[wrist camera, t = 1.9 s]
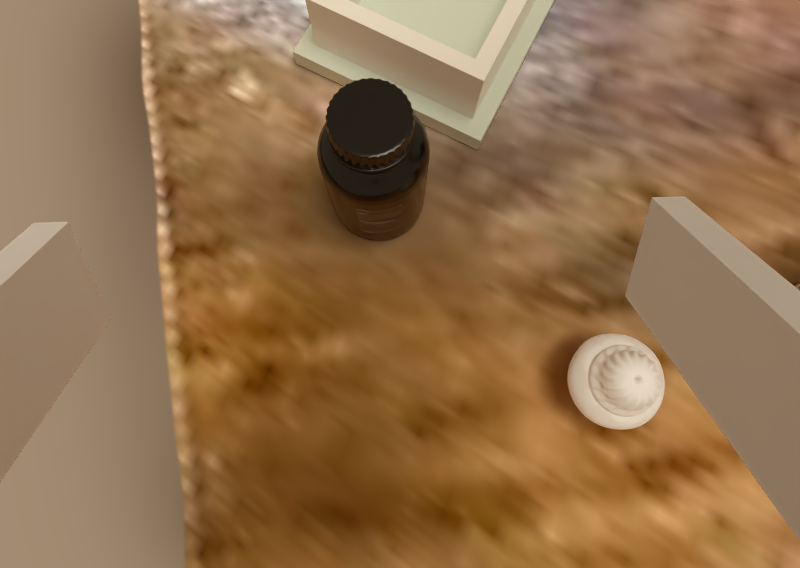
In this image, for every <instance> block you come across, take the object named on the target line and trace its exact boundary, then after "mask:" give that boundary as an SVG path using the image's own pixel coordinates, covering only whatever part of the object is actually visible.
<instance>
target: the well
mask: <svg viewBox="0 0 800 568" xmlns="http://www.w3.org/2000/svg"><path fill="white" fill-rule="evenodd" d="M554 2H555V0H306V5H307V9H308V13H309V18H310V22H311V23H310V25H309V26H308V28H307V30H306V31H305V33H304V35H303V36H302V38H301V39H300V41H299V43H298V44H297V46H296V47H295V49H294V51H293V54H294V57H295V60H296V64H298V65H300V66H303V67H305V68H307V69H309V70H311V71H313V72H315V73H317V74H319V75H321V76H323V77H326V78H328V79H330V80H332V81H334V82H336V83H338V84H340V85H342V86H344V87H345V85H346V84H349V83H352V82H353V81H354V80H360V79H362V78H364V79H368V78H373V79H381V80H383V81H388V82H390V83H391V84H395V85H396V86H397V88H400V89H402V91H403V93H404V94H406V95H407V97H408V100H409V101H410V102H411V105H412V109H413V110H414V114H415V115H416V116H417V117H418V119H419V120H420V121H421V123H422V124H424V125H426V126H428V127H430V128H432V129H434V130H437V131H439V132H441V133H443V134H445V135H447V136H449V137H451V138H453V139H455V140H457V141H460V142H462V143H464V144H466V145H468V146H470V147H472V148H474V149H476V150H478V148H479V146H480V144H481V142H482V141H483V139H484V137H485V135H486V133H487V131H488V129H489V127H490V125H491V123H492V121H493V119H494V117H495V116H496V114H497V112H498V110H499V108H500V106H501V104H502V102H503V100H504V98H505V96H506V94H507V92H508V91H509V89H510V87H511V85H512V83H513V81H514V79H515V77H516V75H517V73H518V71H519V69H520V68H521V66H522V64H523V62H524V60H525V58H526V56H527V54H528V52H529V50H530V48H531V46H532V44H533V43H534V41H535V39H536V37H537V35H538V33H539V31H540V29H541V27H542V25H543V23H544V21H545V19H546V18H547V16H548V14H549V12H550V10H551V8H552V6H553V4H554Z"/></svg>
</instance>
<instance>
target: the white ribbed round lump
mask: <svg viewBox="0 0 800 568" xmlns="http://www.w3.org/2000/svg"><path fill="white" fill-rule="evenodd" d="M567 374H568V377H567V382H568V388H569V389H568V390H569V392H570V395H571V397H572V399H573V401H574V403H575V405H576V406H577V408H578V409H579V411H580V412H581V413H582V414H583V415H584V416H585V417H586V418H588V419H589V420H590V421H592V422H594V423H596V424H598V425H600V426H603V427H606V428H610V429H622V430H624V429H632V428H636V427H639V426H641V425H643V424H645V423H646V422H648V421H649V420H650V419H651V418H652V417H653V416H654V415H655V413H656V412H657V411H658V409H659V407H660V405H661V403H662V400H663V397H664V390H665V381H664V374H663V370H662V367H661V364H660V362H659V360H658V358H657V357H656V355H655V354H654V353H653V352H652V351H651V350H650V349H649V348H648V347H647V346H646V345H645V344H643V343H642V342H640V341H639V340H637V339H635V338H633V337H631V336H628V335H624V334H617V333H607V334H600V335H596V336H594V337H591V338H589V339H588V340H586V341H585V342H584V343H583V344H582V345H581V346H580V347H579V348H578V350H577V351H576V353H575V354H574V356H573V357H572V360H571V362H570V364H569V369H568V372H567Z"/></svg>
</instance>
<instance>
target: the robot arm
mask: <svg viewBox="0 0 800 568" xmlns="http://www.w3.org/2000/svg"><path fill="white" fill-rule="evenodd" d="M625 296H626V298H627V299H628V301H629V302H630V303H631V305H632V306H633V308H634V309H635V310H636V312H637V313H638V315H639V316H640V318H641V319H642V320H643V322H644V323H645V325H646V326H647V327H648V329H649V330H650V332H651V333H652V334H653V336H654V337H655V339H656V340H657V341H658V343H659V344H660V346H661V347H662V348H663V350H664V351H665V353H666V354H667V355H668V357H669V358H670V360H671V361H672V362H673V364H674V365H675V367H676V368H677V369H678V371H679V372H680V374H681V375H682V376H683V378H684V379H685V381H686V382H687V383H688V385H689V386H690V388H691V389H692V391H693V392H694V393H695V395H696V396H697V398H698V399H699V400H700V402H701V403H702V405H703V406H704V407H705V409H706V410H707V412H708V413H709V414H710V416H711V417H712V419H713V420H714V421H715V423H716V424H717V426H718V427H719V428H720V430H721V431H722V433H723V434H724V435H725V437H726V438H727V440H728V441H729V442H730V444H731V445H732V447H733V448H734V449H735V451H736V452H737V454H738V455H739V456H740V458H741V459H742V461H743V462H744V463H745V465H746V466H747V468H748V469H749V471H750V472H751V473H752V475H753V476H754V478H755V479H756V480H757V482H758V483H759V485H760V486H761V487H762V489H763V490H764V492H765V493H766V494H767V496H768V497H769V499H770V500H771V501H772V503H773V504H774V506H775V507H776V508H777V510H778V511H779V513H780V514H781V515H782V517H783V518H784V520H785V521H786V522H787V524H788V525H789V527H790V528H791V529H792V531H793V532H794V534H795V535H796V536H797V538H798V539H799V541H800V290H798V289H797V288H796V287H795V286H793V285H792V284H791V283H790V282H789V281H787V280H786V279H785V278H784V277H782V276H781V275H780V274H779V273H778V272H776V271H775V270H774V269H773V268H772V267H770V266H769V265H768V264H767V263H765V262H764V261H763V260H762V259H761V258H759V257H758V256H757V255H756V254H754V253H753V252H752V251H751V250H750V249H748V248H747V247H746V246H745V245H743V244H742V243H741V242H740V241H739V240H737V239H736V238H735V237H734V236H733V235H731V234H730V233H729V232H728V231H726V230H725V229H724V228H723V227H722V226H720V225H719V224H718V223H717V222H715V221H714V220H713V219H712V218H711V217H709V216H708V215H707V214H706V213H705V212H703V211H702V210H701V209H700V208H698V207H697V206H696V205H695V204H694V203H692V202H691V201H690V200H689V199H687V198H686V197H685V196H675V197H652V198H651V202H650V205H649V209H648V213H647V217H646V220H645V224H644V228H643V231H642V235H641V239H640V243H639V246H638V250H637V254H636V257H635V261H634V265H633V269H632V272H631V276H630V280H629V283H628V287H627V291H626V295H625ZM109 321H110V318H109V315H108V313H107V310H106V308H105V306H104V303H103V301H102V299H101V296H100V294H99V292H98V289H97V287H96V284H95V282H94V280H93V277H92V275H91V273H90V270H89V268H88V266H87V263H86V261H85V259H84V256H83V254H82V251H81V249H80V247H79V244H78V242H77V239H76V238H75V235H74V232H73V230H72V228H71V225H70V223H69V222H48V223H33V224H32V225H31V226H30V227H29V228H27V229H26V230H25V231H24V232H23V233H22V234H20V235H19V236H18V237H17V238H16V239H14V240H13V241H12V242H11V243H10V244H9V245H7V246H6V247H5V248H4V249H3V250H1V251H0V482H1V480H2V479H3V477H4V476H5V474H6V473H7V471H8V470H9V468H10V467H11V465H12V464H13V463H14V461H15V460H16V458H17V457H18V455H19V454H20V452H21V451H22V449H23V448H24V446H25V445H26V443H27V442H28V440H29V439H30V438H31V436H32V435H33V433H34V432H35V430H36V429H37V427H38V426H39V424H40V423H41V421H42V420H43V418H44V417H45V415H46V414H47V412H48V411H49V410H50V408H51V407H52V405H53V404H54V402H55V401H56V399H57V398H58V396H59V395H60V393H61V392H62V390H63V389H64V387H65V386H66V384H67V383H68V382H69V380H70V379H71V377H72V376H73V374H74V373H75V371H76V370H77V368H78V367H79V365H80V364H81V362H82V361H83V360H84V358H85V356H86V355H87V354H88V352H89V351H90V349H91V348H92V346H93V345H94V343H95V342H96V340H97V339H98V338H99V336H100V335H101V333H102V332H103V330H104V329H105V327H106V326H107V324H108V323H109Z"/></svg>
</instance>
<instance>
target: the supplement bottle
mask: <svg viewBox="0 0 800 568" xmlns="http://www.w3.org/2000/svg"><path fill="white" fill-rule="evenodd" d="M317 155H318V161H319V166H320V169H321V172H322V175H323V178H324V181H325V184H326V186H327V189H328V192H329V195H330V198H331V200H332V203H333V206H334V209H335V211H336V213H337V215H338V217H339V219H340V220H341V222H342V223H343V224H344V225H345V226H346V227H347V228H348V229H349V230H350V231H352V232H353V233H355V234H356V235H358V236H361V237H364V238H367V239H373V240H383V239H389V238H393V237H396V236H398V235H400V234H402V233H403V232H405V231H406V230H408V229H409V228H410V227H411V226H412V225H413V224H414V222H415V221H416V220H417V218H418V216H419V214H420V212H421V209H422V206H423V201H424V195H425V187H426V179H427V172H428V164H429V140H428V136H427V133H426V131H425V128H424V126H423V124H422V123H421V121H420V120H419V119H418V117H417V116H416V115H415V114H414V110H413V109H412V105H411V102H410V101H409V100H408V97H407V95H406V94H404V93H403V91H402V89H400V88H397V86H396V85H395V84H391V83H390V82H388V81H383V80H381V79H373V78H368V79H364V78H362V79H360V80H354V81H353V82H352V83H349V84H346V85H345V87H343V88H341V89H339V91H338V93H336V94H335V95H334V96H333V99H332V100H331V101H330V103H329V107H328V108H327V115H326V123H325V125H324V126H323V128H322V130H321V133H320V136H319V140H318V146H317Z"/></svg>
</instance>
